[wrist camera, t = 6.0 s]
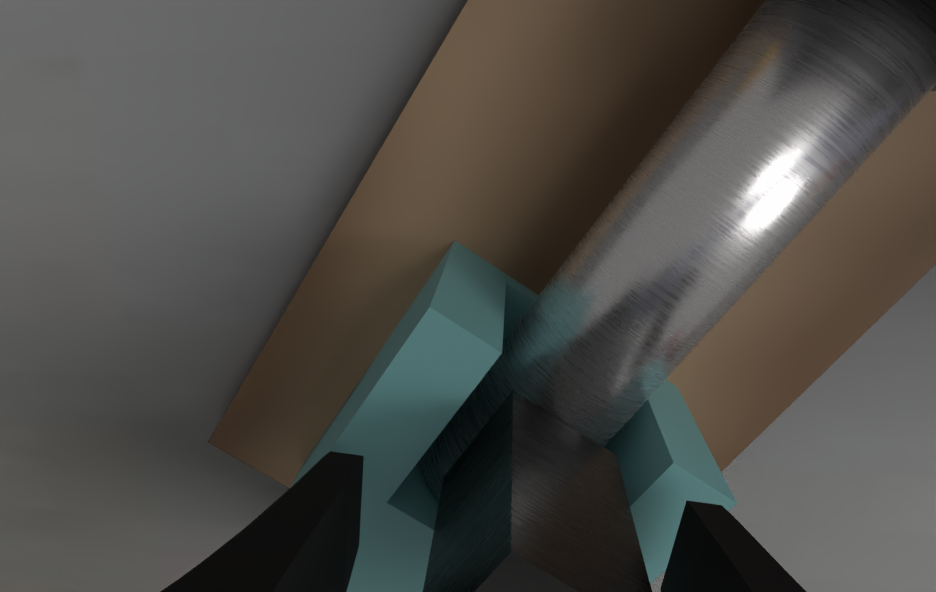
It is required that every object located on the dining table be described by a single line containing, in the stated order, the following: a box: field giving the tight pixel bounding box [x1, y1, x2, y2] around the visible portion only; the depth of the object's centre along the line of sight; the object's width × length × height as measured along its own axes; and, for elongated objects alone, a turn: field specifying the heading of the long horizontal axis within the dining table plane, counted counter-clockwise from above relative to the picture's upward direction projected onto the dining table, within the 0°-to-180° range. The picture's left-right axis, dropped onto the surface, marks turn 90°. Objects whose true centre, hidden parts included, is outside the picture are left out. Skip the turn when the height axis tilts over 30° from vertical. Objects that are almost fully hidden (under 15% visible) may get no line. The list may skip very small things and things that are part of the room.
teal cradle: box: [290, 241, 737, 592], centre depth 14 cm, size 7×8×4 cm
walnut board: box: [208, 0, 936, 488], centre depth 13 cm, size 12×31×1 cm, turn 147°
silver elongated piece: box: [421, 0, 936, 592], centre depth 9 cm, size 3×14×7 cm, turn 146°
